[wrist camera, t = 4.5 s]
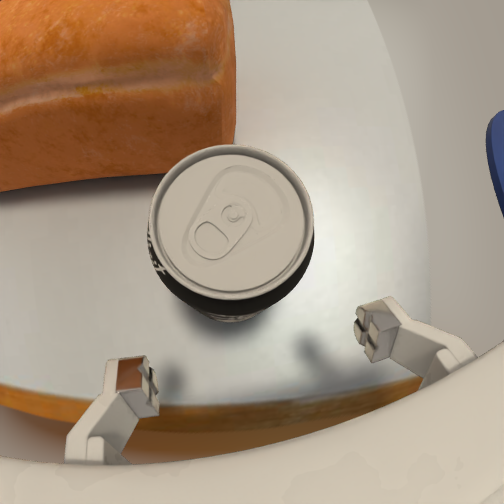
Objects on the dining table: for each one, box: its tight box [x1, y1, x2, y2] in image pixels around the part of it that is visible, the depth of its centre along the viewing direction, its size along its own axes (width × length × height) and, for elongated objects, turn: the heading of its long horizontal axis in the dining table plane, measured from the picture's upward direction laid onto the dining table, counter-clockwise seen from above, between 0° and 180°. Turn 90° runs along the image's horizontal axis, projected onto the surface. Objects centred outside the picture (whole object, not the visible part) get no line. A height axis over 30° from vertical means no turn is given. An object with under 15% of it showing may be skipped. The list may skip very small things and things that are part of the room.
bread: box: [0, 0, 236, 192], centre depth 17 cm, size 14×26×16 cm, turn 93°
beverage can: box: [147, 145, 314, 322], centre depth 16 cm, size 7×7×12 cm
